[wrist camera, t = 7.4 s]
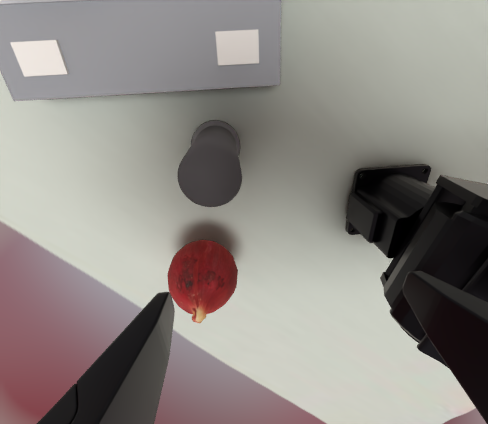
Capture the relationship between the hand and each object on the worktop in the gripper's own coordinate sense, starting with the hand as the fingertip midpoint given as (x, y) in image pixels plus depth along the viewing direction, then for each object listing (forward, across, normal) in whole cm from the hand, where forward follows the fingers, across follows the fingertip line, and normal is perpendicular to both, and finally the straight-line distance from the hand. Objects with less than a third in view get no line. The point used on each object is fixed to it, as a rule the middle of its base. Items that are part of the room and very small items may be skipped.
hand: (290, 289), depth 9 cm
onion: (+13, +5, +7) cm, 16 cm away
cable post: (+13, +3, -3) cm, 14 cm away
